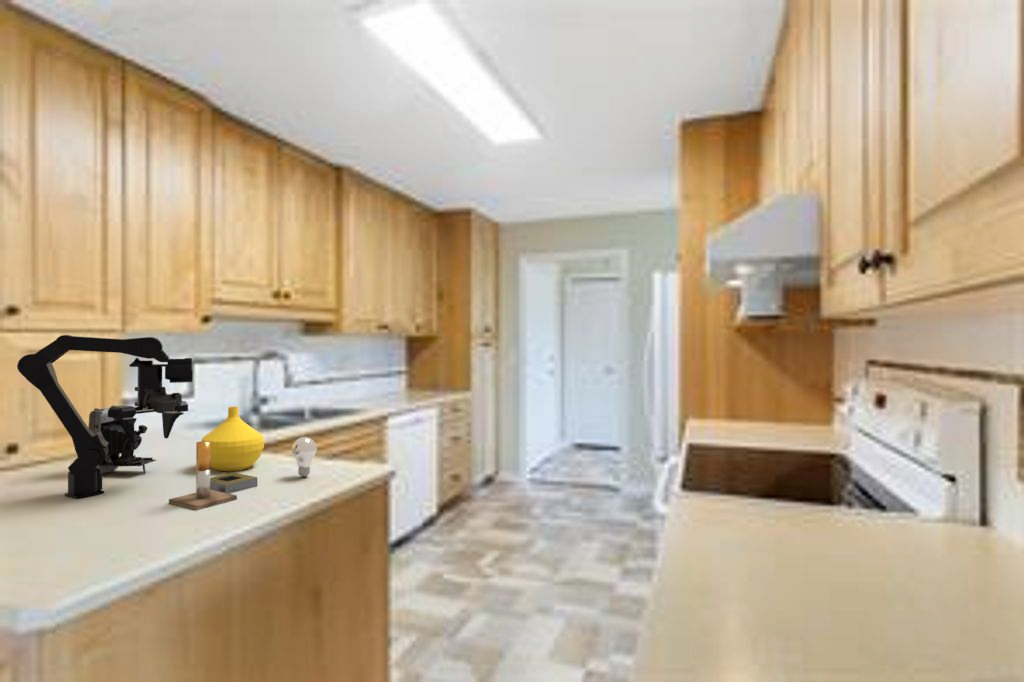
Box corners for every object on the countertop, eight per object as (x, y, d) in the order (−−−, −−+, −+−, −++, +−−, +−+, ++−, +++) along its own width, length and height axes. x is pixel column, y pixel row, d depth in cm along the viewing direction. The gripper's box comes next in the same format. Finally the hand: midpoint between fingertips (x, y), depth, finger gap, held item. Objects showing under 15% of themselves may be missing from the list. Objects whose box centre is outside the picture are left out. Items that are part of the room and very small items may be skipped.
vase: (193, 475, 178) (194, 411, 178) (207, 462, 196) (207, 403, 195) (260, 473, 183) (260, 410, 183) (267, 460, 201) (268, 403, 200)
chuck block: (225, 494, 159) (225, 484, 159) (201, 489, 164) (201, 479, 164) (257, 486, 168) (257, 477, 168) (233, 481, 173) (233, 472, 172)
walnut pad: (196, 510, 145) (196, 505, 145) (168, 503, 150) (168, 499, 150) (236, 499, 155) (236, 495, 155) (209, 493, 160) (209, 489, 160)
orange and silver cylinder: (197, 499, 150) (197, 443, 150) (194, 496, 153) (195, 441, 152) (211, 497, 152) (211, 442, 152) (208, 494, 155) (208, 440, 154)
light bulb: (320, 474, 182) (320, 435, 182) (310, 480, 175) (310, 439, 175) (298, 474, 183) (298, 434, 182) (287, 479, 176) (287, 438, 175)
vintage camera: (137, 480, 174) (141, 411, 174) (84, 476, 174) (88, 408, 174) (157, 472, 184) (161, 407, 184) (107, 469, 184) (111, 404, 184)
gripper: (131, 387, 151) (131, 449, 151) (201, 382, 167) (200, 438, 167) (106, 385, 156) (106, 445, 156) (176, 380, 172) (175, 434, 173)
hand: (149, 440), depth 163 cm, fingers open, 9 cm apart
